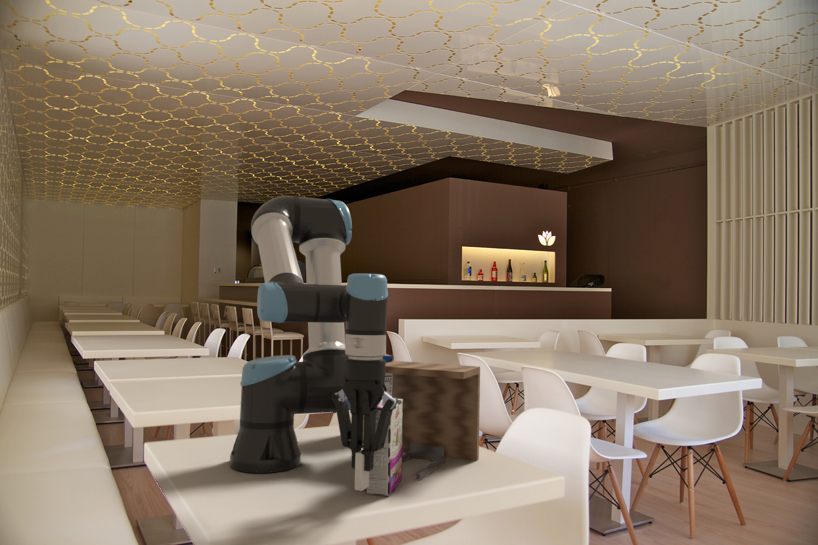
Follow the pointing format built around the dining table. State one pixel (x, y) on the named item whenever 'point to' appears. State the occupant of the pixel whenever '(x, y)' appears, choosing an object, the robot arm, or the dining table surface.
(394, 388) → the overhang shelf
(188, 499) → the dining table surface
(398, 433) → the candy bar box
